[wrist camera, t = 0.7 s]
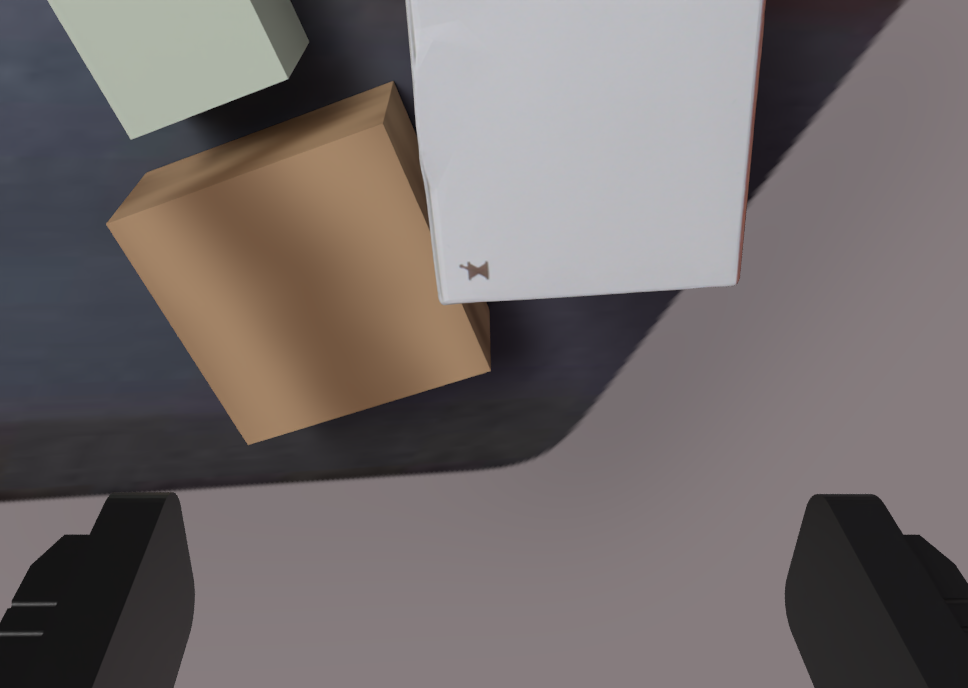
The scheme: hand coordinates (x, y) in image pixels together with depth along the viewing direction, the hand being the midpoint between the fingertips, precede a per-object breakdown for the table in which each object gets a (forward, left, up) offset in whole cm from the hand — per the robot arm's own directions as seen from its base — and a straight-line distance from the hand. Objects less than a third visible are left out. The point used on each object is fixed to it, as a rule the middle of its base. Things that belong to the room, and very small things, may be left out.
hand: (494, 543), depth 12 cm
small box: (-3, -2, -21) cm, 21 cm away
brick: (+7, -5, -21) cm, 23 cm away
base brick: (+7, +4, -21) cm, 22 cm away
